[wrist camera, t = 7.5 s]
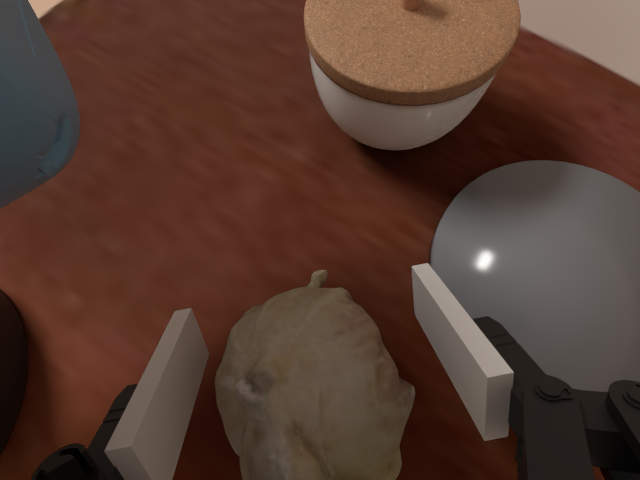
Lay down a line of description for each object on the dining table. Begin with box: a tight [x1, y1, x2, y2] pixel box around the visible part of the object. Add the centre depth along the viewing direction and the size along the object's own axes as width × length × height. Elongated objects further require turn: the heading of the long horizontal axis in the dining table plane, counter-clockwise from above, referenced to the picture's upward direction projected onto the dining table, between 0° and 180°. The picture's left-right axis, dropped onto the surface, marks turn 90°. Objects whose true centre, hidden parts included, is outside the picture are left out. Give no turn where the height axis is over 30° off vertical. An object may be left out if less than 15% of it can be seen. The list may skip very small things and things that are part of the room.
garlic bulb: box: [215, 270, 415, 480], centre depth 14 cm, size 9×8×10 cm
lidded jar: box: [304, 0, 521, 150], centre depth 20 cm, size 11×11×9 cm
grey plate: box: [429, 160, 640, 392], centre depth 19 cm, size 14×14×1 cm
